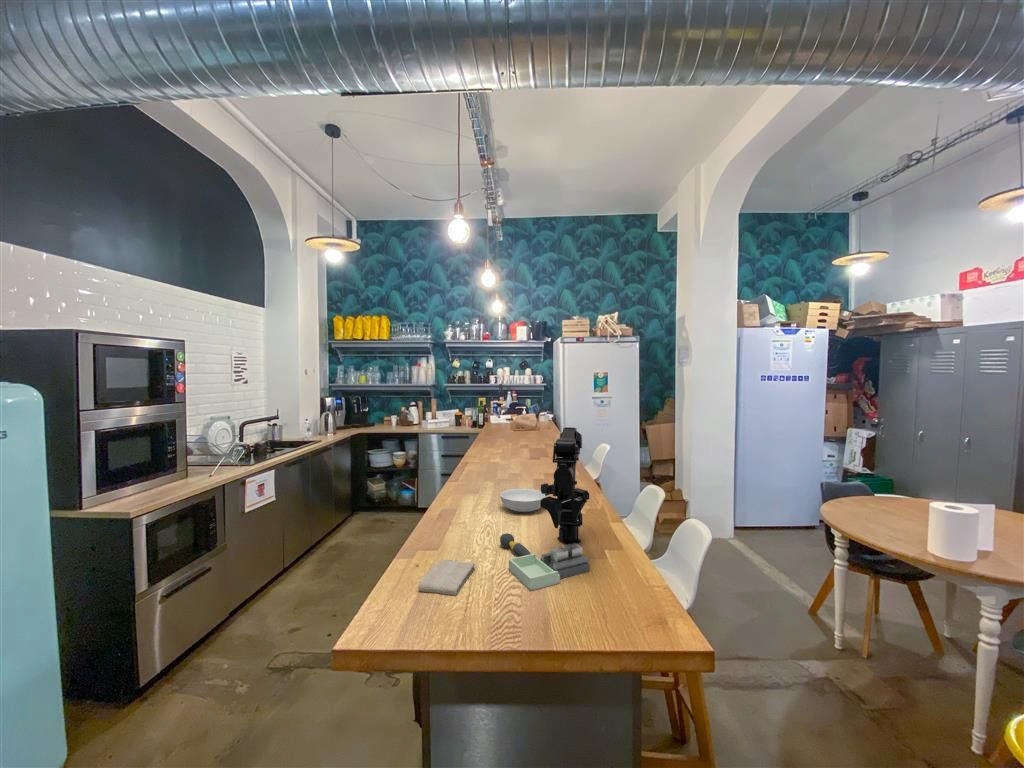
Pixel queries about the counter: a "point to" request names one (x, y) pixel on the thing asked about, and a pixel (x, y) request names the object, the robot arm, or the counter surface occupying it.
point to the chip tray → (533, 572)
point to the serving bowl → (522, 499)
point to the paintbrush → (513, 545)
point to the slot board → (567, 565)
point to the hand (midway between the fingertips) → (565, 524)
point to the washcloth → (446, 577)
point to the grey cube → (574, 551)
